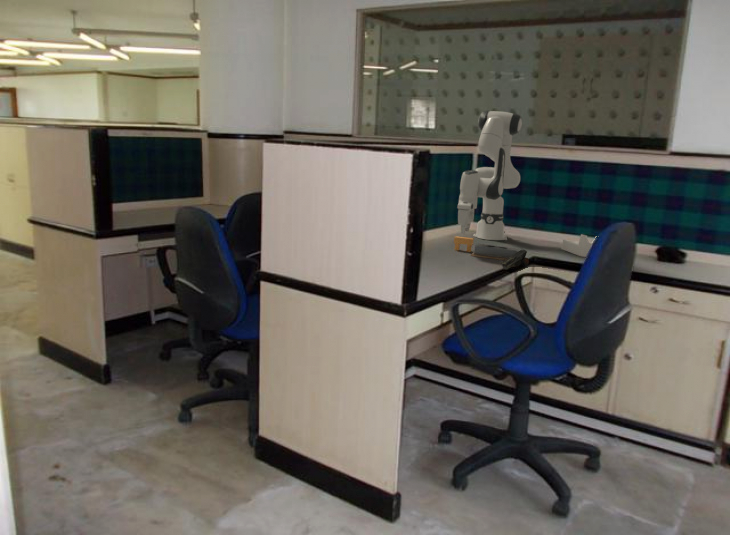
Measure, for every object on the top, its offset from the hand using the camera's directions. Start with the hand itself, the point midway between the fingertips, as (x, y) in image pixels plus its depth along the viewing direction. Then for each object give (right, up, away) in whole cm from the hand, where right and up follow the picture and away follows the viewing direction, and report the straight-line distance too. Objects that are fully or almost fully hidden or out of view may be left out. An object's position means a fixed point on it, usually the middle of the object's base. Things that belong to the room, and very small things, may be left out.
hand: (465, 232), depth 300 cm
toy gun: (+17, -18, -29) cm, 38 cm away
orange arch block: (-1, -9, +3) cm, 9 cm away
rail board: (+14, -12, -7) cm, 19 cm away
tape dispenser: (+61, -10, +15) cm, 63 cm away
